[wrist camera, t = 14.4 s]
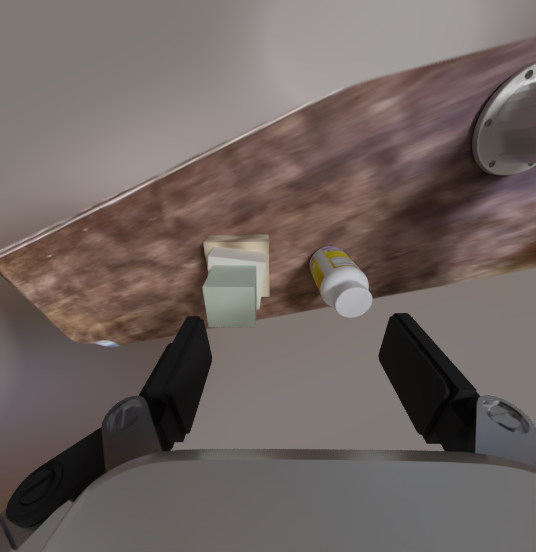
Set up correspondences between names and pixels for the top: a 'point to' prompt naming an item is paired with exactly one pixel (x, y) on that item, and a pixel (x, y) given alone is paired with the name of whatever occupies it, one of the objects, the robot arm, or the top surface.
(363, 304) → the supplement bottle
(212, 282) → the stack block
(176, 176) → the top surface
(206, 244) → the tower base block
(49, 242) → the top surface
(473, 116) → the top surface
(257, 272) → the tower top block
